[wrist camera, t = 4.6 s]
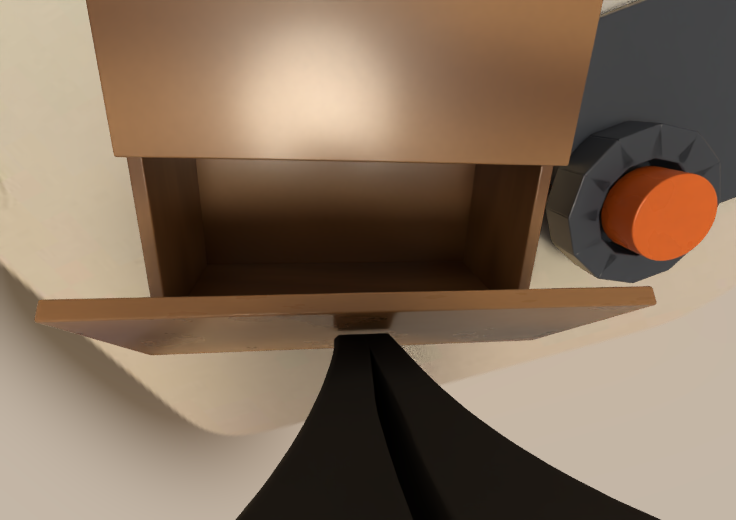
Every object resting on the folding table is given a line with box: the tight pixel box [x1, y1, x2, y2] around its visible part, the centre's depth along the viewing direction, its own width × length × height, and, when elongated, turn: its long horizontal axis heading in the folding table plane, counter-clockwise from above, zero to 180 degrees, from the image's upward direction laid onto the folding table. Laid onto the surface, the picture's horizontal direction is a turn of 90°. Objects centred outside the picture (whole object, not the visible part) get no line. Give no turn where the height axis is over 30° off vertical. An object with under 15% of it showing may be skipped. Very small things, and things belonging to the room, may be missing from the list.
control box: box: [546, 0, 736, 283], centre depth 16 cm, size 10×10×3 cm
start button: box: [601, 166, 717, 261], centre depth 15 cm, size 3×3×2 cm
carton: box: [86, 0, 603, 297], centre depth 13 cm, size 11×12×6 cm
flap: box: [34, 286, 656, 355], centre depth 10 cm, size 5×12×1 cm
